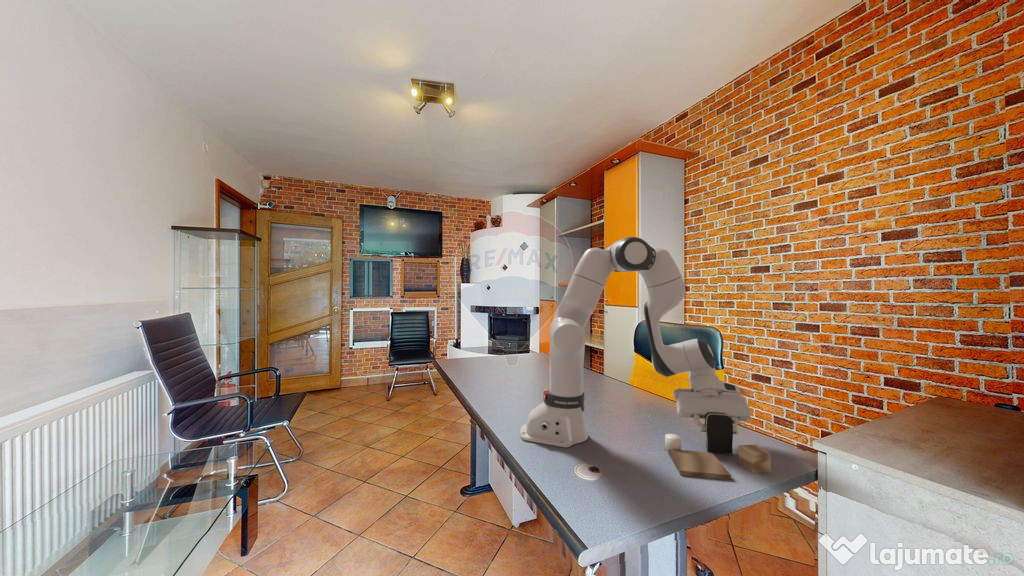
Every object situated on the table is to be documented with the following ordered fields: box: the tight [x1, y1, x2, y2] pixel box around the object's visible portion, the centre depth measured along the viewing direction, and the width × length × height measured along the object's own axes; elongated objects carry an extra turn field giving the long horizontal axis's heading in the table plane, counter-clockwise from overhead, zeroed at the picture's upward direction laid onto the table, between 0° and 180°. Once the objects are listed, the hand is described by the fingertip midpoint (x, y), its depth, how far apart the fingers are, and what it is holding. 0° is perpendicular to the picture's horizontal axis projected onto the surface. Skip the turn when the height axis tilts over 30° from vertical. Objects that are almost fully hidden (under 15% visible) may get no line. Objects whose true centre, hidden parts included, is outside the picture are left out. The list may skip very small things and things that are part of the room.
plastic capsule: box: [664, 433, 682, 452], centre depth 102 cm, size 4×4×4 cm
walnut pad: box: [667, 449, 732, 481], centre depth 93 cm, size 12×12×1 cm
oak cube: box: [738, 444, 772, 473], centre depth 92 cm, size 5×5×5 cm
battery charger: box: [704, 412, 734, 455], centre depth 101 cm, size 7×4×11 cm, turn 75°
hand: (718, 432), depth 101 cm, fingers closed on battery charger, 7 cm apart
